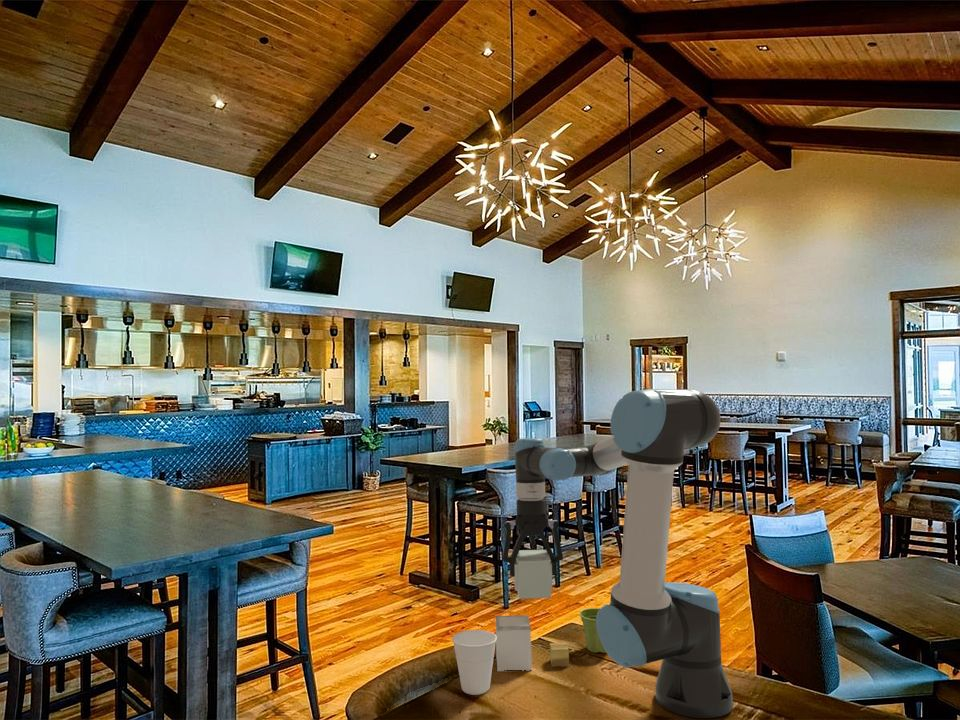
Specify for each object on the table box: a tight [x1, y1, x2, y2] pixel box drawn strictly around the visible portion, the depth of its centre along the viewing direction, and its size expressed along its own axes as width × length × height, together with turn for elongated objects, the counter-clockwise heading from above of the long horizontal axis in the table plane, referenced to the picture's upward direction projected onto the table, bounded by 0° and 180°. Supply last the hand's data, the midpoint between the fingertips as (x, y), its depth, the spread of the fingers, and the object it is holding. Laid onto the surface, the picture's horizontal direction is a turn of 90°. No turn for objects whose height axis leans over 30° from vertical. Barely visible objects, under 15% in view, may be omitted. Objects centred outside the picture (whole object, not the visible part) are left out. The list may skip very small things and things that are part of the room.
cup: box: [451, 629, 497, 696], centre depth 138 cm, size 10×10×11 cm
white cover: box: [494, 614, 533, 672], centre depth 151 cm, size 8×8×10 cm
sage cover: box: [515, 549, 552, 600], centre depth 161 cm, size 8×8×10 cm
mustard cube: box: [549, 642, 570, 667], centre depth 151 cm, size 4×4×4 cm
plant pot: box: [578, 607, 607, 654], centre depth 159 cm, size 9×9×9 cm
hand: (533, 588), depth 161 cm, fingers closed on sage cover, 8 cm apart
